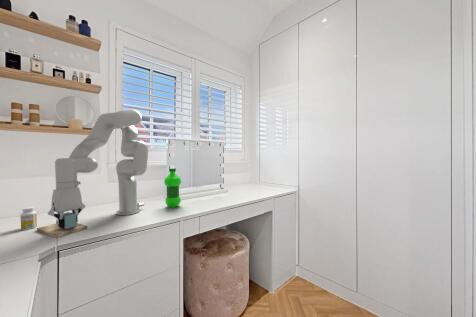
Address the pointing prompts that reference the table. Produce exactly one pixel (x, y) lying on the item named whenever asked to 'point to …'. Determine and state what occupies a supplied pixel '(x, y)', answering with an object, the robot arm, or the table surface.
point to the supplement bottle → (28, 218)
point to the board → (59, 230)
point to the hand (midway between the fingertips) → (68, 225)
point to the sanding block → (69, 220)
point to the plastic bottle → (172, 188)
